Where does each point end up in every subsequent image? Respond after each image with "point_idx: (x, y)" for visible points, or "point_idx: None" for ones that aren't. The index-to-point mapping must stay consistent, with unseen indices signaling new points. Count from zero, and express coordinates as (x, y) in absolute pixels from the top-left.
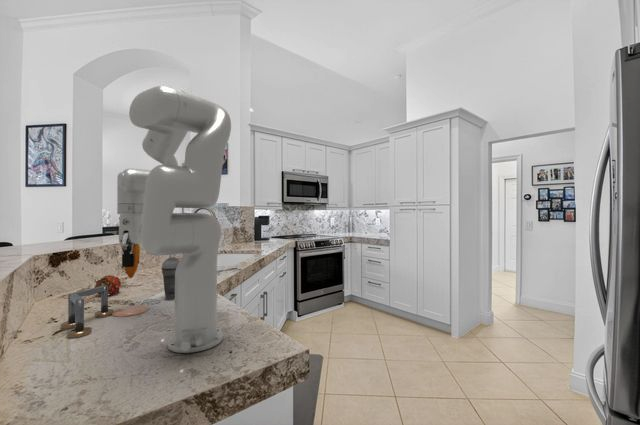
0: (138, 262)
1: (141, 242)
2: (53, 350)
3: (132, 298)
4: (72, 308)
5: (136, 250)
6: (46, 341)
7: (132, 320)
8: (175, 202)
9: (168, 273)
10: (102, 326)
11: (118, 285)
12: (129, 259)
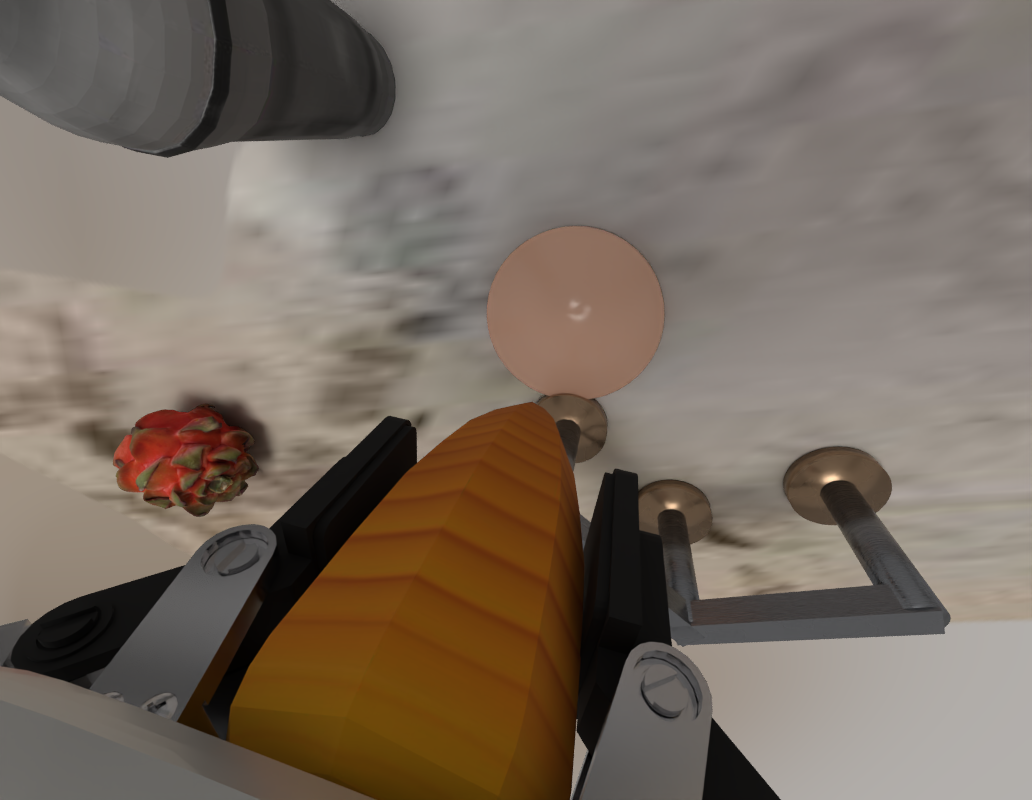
0: (404, 427)
1: (209, 778)
2: (989, 535)
3: (307, 334)
4: (693, 569)
5: (515, 636)
6: (827, 557)
7: (766, 294)
8: None
9: (261, 55)
10: (769, 415)
11: (193, 421)
12: (664, 588)
